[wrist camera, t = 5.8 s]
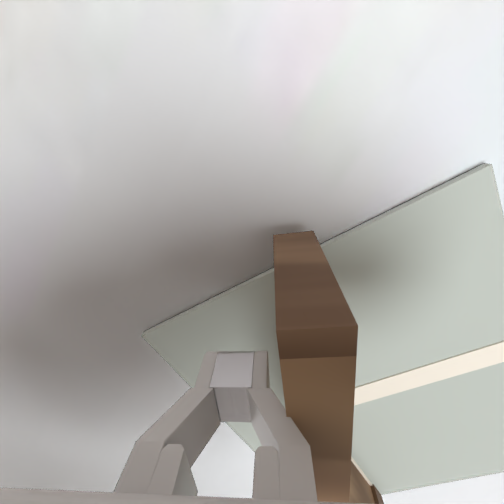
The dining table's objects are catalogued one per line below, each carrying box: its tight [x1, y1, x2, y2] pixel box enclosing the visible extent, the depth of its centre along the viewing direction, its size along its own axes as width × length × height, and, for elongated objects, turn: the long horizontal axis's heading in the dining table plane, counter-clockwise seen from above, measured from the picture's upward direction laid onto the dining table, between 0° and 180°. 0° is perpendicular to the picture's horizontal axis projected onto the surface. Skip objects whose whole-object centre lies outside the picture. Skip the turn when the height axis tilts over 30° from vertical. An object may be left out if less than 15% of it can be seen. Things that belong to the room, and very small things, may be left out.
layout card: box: [141, 163, 504, 495], centre depth 17 cm, size 24×20×1 cm
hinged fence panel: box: [273, 231, 358, 503], centre depth 11 cm, size 13×2×6 cm, turn 8°
